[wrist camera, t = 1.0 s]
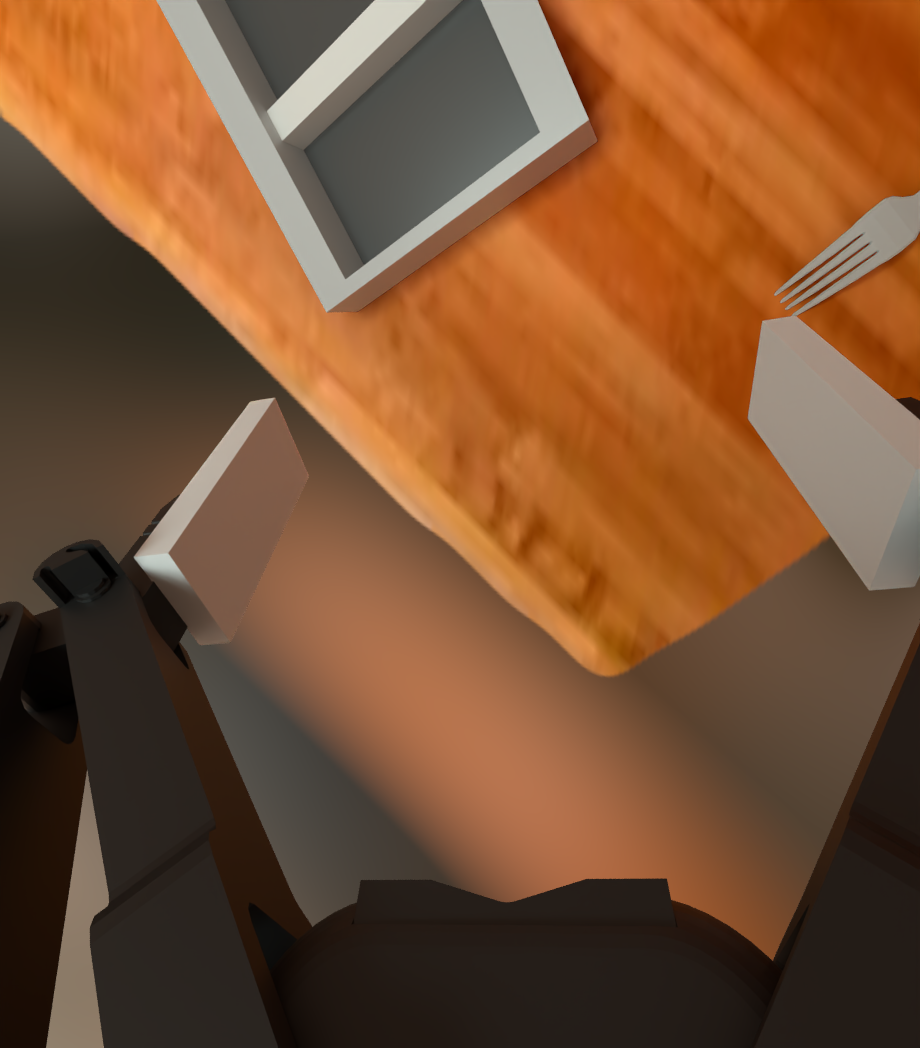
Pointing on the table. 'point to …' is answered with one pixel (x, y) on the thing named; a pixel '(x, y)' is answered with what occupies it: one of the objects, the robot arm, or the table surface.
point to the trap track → (384, 121)
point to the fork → (880, 227)
